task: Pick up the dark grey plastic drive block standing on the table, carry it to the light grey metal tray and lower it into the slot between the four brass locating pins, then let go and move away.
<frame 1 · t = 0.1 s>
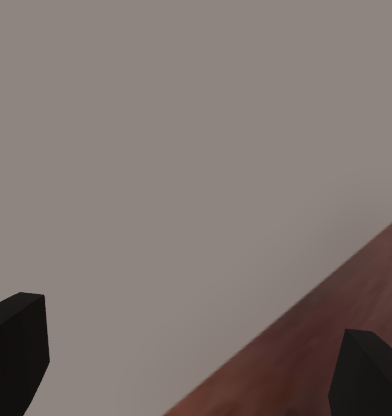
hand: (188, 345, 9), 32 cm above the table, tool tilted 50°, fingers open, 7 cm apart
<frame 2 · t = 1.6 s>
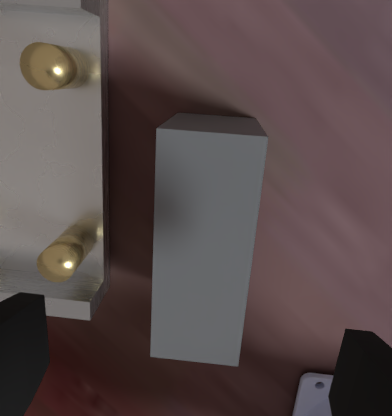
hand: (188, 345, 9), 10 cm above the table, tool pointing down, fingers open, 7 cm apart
drive: (209, 208, 18), on the table
pin tray: (17, 151, 18), on the table
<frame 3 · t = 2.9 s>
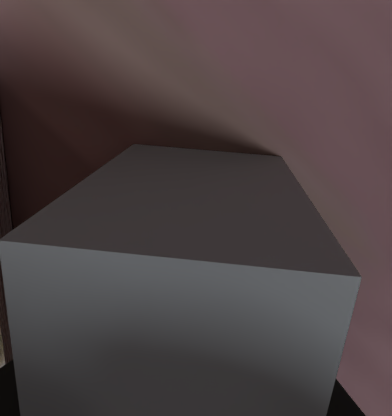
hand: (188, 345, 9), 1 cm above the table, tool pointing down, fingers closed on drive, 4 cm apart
drive: (193, 310, 10), on the table, touching gripper
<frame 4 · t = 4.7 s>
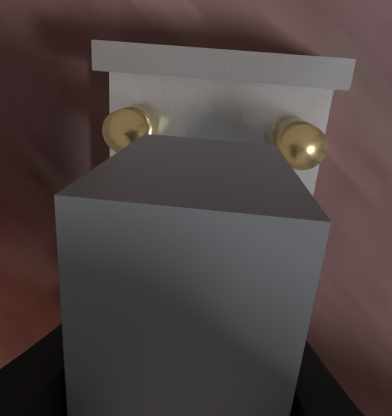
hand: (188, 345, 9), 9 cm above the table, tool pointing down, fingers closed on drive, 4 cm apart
drive: (197, 285, 11), point 7 cm above the table, touching gripper
pin tray: (208, 211, 18), on the table
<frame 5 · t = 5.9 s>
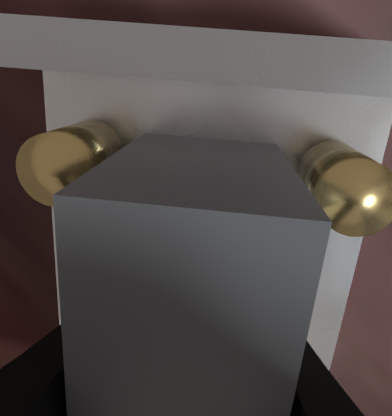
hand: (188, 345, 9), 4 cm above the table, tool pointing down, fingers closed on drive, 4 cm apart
drive: (197, 285, 11), point 1 cm above the table, touching gripper, pin tray
pin tray: (200, 271, 12), on the table
when the fingers open (4 cm above the table, at t = 6.5 s): drive stays where it is, resting on pin tray.
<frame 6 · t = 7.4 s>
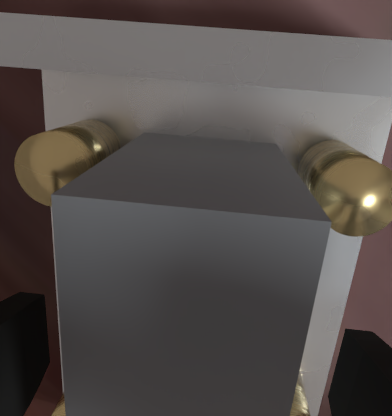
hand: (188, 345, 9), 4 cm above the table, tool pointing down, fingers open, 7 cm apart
drive: (197, 285, 11), point 1 cm above the table, touching pin tray
pin tray: (199, 271, 12), on the table
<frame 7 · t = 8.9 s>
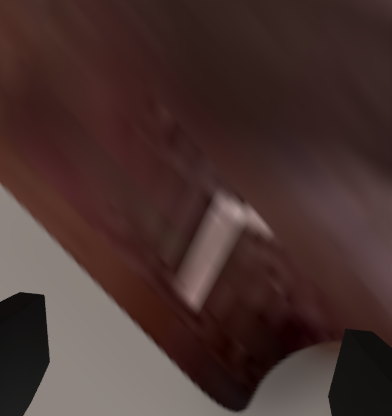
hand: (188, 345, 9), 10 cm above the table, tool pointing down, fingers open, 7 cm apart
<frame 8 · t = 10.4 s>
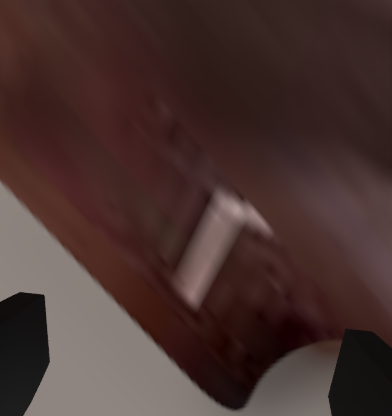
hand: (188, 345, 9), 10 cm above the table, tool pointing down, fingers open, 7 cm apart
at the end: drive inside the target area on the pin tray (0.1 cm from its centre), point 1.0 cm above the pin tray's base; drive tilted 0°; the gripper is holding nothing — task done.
